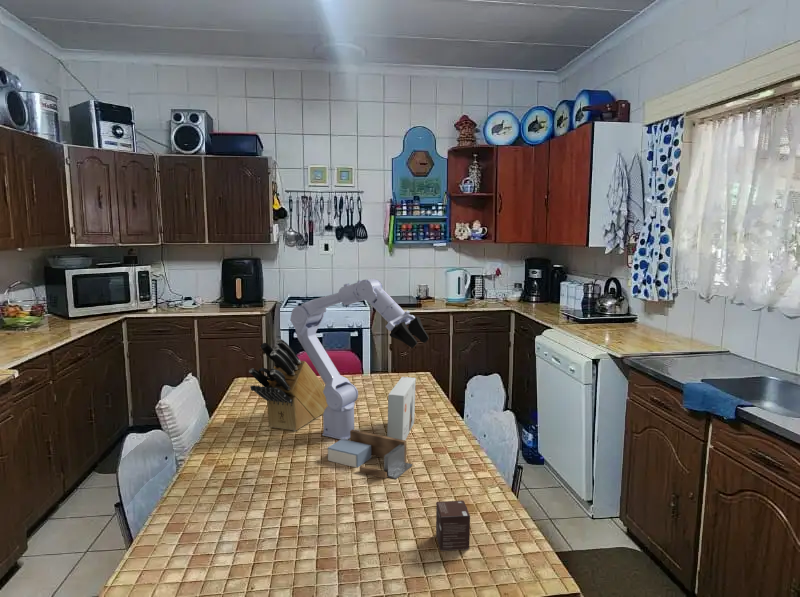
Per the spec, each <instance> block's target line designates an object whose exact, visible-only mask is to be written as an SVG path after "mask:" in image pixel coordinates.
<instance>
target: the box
mask: <svg viewBox="0 0 800 597" xmlns="http://www.w3.org/2000/svg"><path fill="white" fill-rule="evenodd" d="M435 505H436V508H435V510H436V511H435V513H436V514H435V517H436V518H435V535H436V539H437V543H438V547H439V550H440V551H441V552H443V551H444V552H445V551H446V552H447V551H448V552H449V551H458V550H469V549H470V539H471V537H470V536H471V533H470V532H471V530H470V529H471V515H470V513H469V510H468V507H467V505H466V502H465V500H463V499H462V500H451V501H450V500H447V501H445V500H443V501H436V504H435Z"/></svg>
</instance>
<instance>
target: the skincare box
mask: <svg viewBox="0 0 800 597" xmlns="http://www.w3.org/2000/svg"><path fill="white" fill-rule="evenodd" d="M415 406H416V377H410V376H409V377H408V376H401V377H400V379H399V380H398V381H397V383H396V384H395V385H394V386H393V388H392V389H391V391H390V392H389V393H388V399H387V428H386V430H387V432H386V437H391V438H395V439H400V440H405V441H407V440H406V439H407V438H408V435H409V434H410V432H411V430H412V428H413V426H414V424H415V409H416V408H415Z"/></svg>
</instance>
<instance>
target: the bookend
mask: <svg viewBox="0 0 800 597" xmlns="http://www.w3.org/2000/svg"><path fill="white" fill-rule="evenodd" d="M383 464H384V465H383V471H385V472H387V478H390V479H394V480H397V479H398V478H400V477H401V476H402V475H403V474H404V473H405V472H407V471H408V470H409V469H410V468H411V467H413V464H412V463H409V462H404V444H400V445H398V446H397V447H396V448H394V449H393V450H392V451H390V452H389V453H388V454H386V455H385V456H384V458H383Z"/></svg>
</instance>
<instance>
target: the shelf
mask: <svg viewBox="0 0 800 597" xmlns="http://www.w3.org/2000/svg"><path fill="white" fill-rule="evenodd" d="M357 430H358V429H357ZM357 430H356V429H354V430H351V431H350V439H349V441H354V442H359V443H363V444H368V445H371V457H375V458H376V457H377V458H381V459H384V456H385V455H386V454H388V453H389V452H390V451H392V450H393V449H394V448H396V447H397V446H398V445H400V444H404V462H405V463H407V460H408V459H407V440H400V439H395V438H391V437H387V435H386V436H385V435H381V434H375V433H370V432H366V431H360V430H358V431H357ZM358 468H359V473H361V474H365V475H370V476H373V477H378V478H381V479H387V478H388V477H387V472H385V471H384V470H381V469H377V468H373V467H368V466H364V465H361V466H359V467H358Z"/></svg>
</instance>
